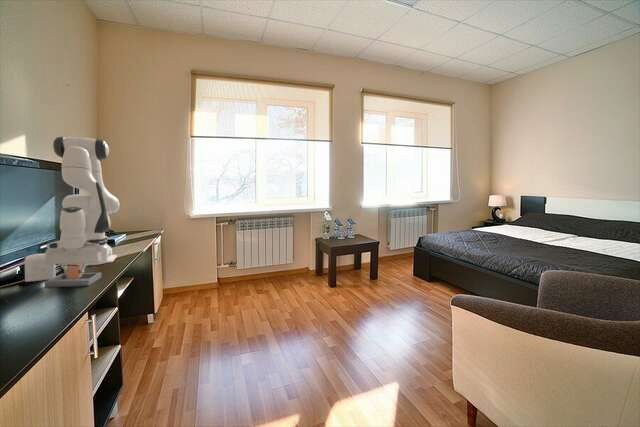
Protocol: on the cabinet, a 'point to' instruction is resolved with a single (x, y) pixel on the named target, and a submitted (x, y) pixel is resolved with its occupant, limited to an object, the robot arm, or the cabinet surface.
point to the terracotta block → (73, 271)
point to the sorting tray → (72, 280)
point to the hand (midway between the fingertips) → (74, 272)
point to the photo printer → (38, 268)
